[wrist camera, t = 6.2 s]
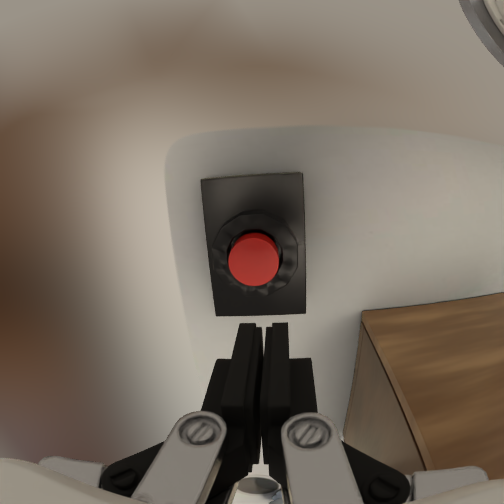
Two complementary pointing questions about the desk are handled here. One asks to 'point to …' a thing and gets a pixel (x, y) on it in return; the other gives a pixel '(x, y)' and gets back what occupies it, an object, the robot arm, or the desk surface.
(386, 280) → the desk surface
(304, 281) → the button block
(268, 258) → the button
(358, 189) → the desk surface
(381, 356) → the cupboard door
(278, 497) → the toy figure
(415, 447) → the cupboard
